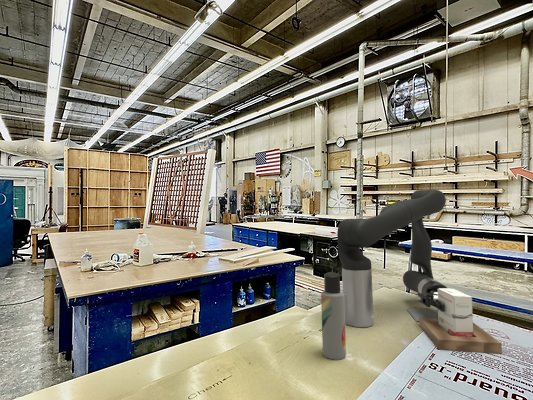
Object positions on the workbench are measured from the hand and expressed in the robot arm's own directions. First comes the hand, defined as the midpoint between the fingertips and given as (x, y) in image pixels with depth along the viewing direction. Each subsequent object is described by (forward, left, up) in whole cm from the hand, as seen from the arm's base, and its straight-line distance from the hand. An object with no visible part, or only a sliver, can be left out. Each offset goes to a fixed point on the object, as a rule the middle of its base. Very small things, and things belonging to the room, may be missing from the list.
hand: (455, 308), depth 79 cm
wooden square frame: (0, +1, -8) cm, 8 cm away
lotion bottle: (-33, -14, -8) cm, 37 cm away
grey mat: (0, +18, -8) cm, 20 cm away
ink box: (0, +1, -8) cm, 8 cm away
